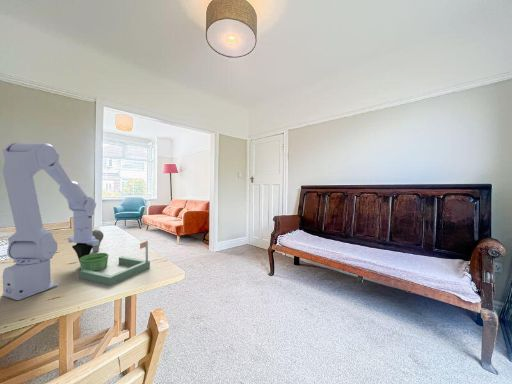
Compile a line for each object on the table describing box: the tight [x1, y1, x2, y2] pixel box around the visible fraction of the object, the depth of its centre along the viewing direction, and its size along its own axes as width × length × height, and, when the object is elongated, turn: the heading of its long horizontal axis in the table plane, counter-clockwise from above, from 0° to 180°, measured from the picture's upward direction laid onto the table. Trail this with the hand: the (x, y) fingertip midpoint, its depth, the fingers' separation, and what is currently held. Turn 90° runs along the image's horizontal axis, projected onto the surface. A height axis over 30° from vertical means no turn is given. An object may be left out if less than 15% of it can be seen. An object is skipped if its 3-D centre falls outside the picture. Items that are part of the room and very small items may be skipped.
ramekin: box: [78, 252, 110, 272], centre depth 83 cm, size 9×9×4 cm
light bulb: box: [91, 229, 105, 253], centre depth 103 cm, size 6×6×10 cm
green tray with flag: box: [78, 240, 151, 286], centre depth 79 cm, size 16×14×10 cm
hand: (83, 262), depth 85 cm, fingers closed
